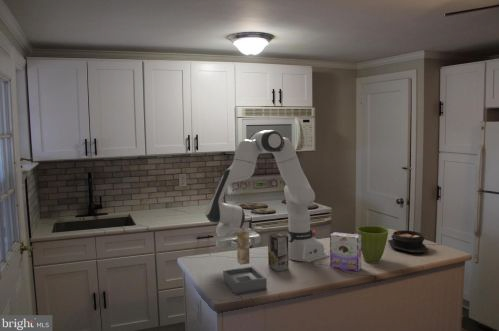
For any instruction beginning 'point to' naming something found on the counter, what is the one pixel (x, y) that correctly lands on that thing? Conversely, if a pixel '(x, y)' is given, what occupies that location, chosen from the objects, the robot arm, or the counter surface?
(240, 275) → the box
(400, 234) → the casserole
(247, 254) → the peg
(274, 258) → the coffee box
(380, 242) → the flower pot
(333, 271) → the counter surface
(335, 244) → the candy box
